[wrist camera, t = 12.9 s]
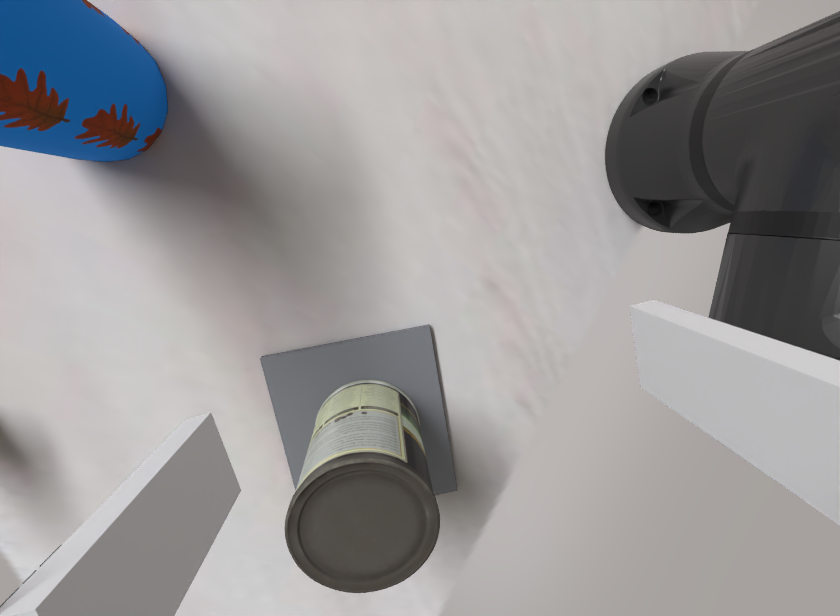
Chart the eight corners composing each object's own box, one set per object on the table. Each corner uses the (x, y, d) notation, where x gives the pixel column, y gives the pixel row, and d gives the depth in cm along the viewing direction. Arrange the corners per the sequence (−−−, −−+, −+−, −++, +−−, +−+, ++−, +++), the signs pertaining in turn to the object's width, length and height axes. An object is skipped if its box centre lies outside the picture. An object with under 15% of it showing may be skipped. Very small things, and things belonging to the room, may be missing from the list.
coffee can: (440, 414, 43) (470, 509, 29) (379, 491, 44) (381, 617, 30) (355, 357, 41) (344, 431, 27) (293, 440, 42) (253, 550, 28)
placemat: (428, 324, 41) (429, 326, 41) (456, 486, 46) (457, 490, 45) (261, 356, 40) (260, 358, 40) (305, 518, 45) (304, 522, 44)
